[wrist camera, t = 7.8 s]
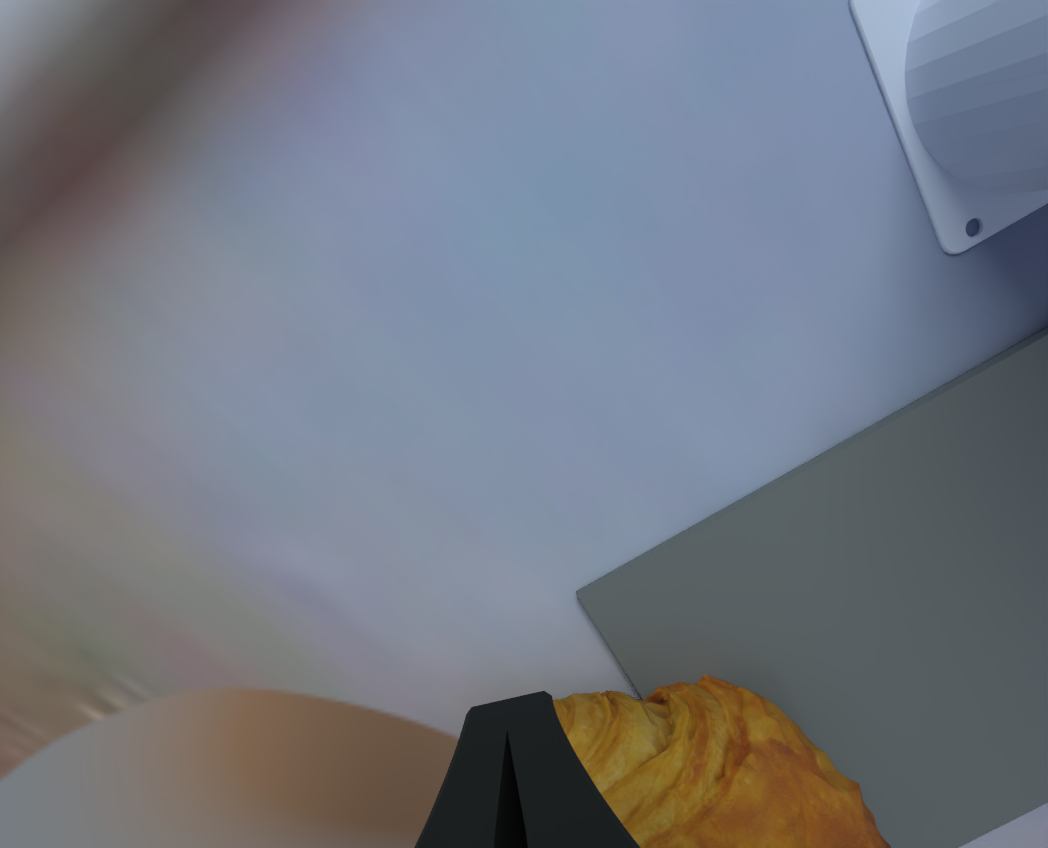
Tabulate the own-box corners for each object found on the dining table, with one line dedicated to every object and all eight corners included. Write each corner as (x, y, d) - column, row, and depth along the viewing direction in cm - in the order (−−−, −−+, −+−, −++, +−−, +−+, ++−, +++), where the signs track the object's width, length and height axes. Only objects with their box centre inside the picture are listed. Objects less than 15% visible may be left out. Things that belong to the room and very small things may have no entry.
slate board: (1120, 286, 20) (1133, 287, 20) (1244, 690, 24) (1256, 697, 24) (575, 591, 21) (577, 597, 21) (786, 921, 26) (791, 931, 25)
